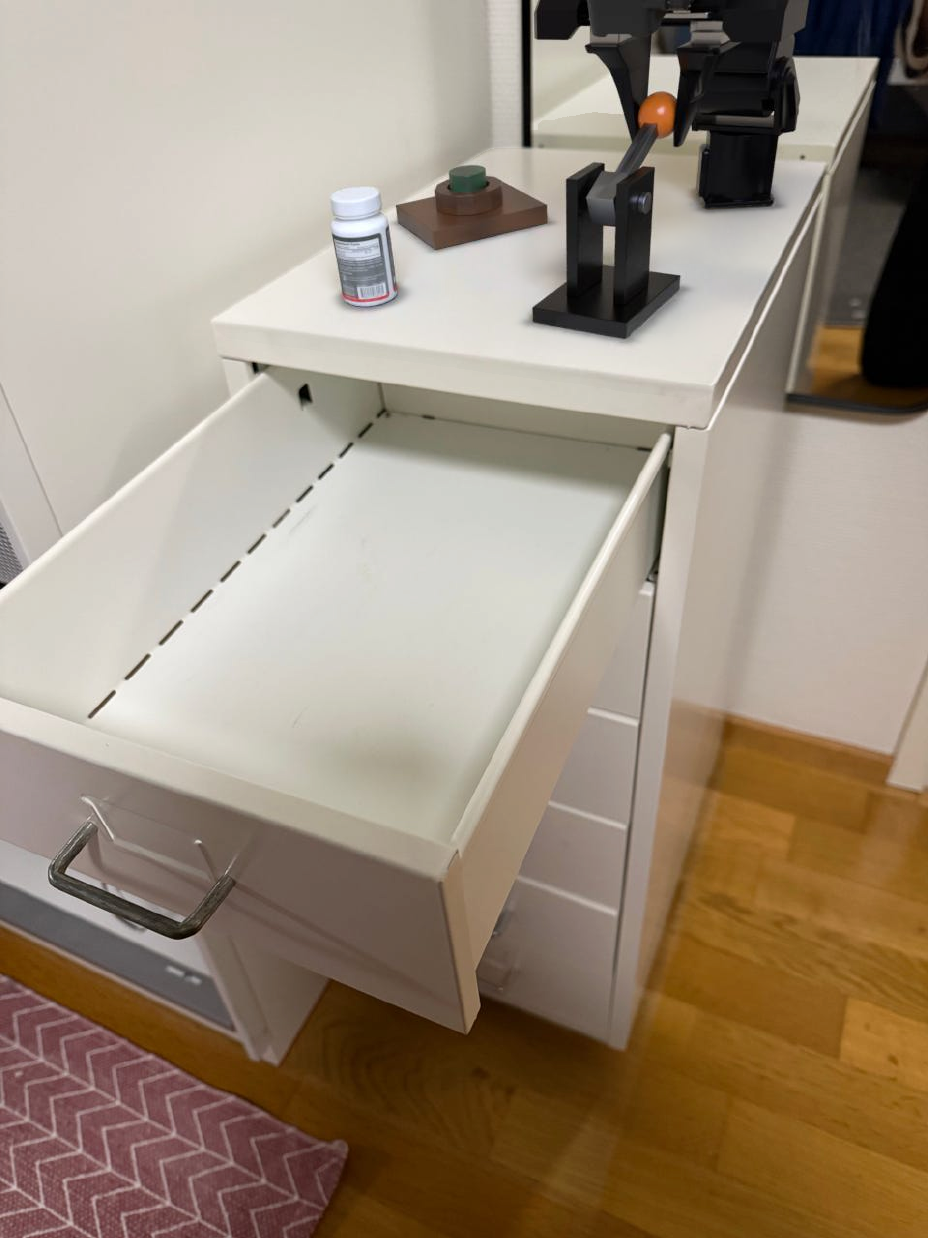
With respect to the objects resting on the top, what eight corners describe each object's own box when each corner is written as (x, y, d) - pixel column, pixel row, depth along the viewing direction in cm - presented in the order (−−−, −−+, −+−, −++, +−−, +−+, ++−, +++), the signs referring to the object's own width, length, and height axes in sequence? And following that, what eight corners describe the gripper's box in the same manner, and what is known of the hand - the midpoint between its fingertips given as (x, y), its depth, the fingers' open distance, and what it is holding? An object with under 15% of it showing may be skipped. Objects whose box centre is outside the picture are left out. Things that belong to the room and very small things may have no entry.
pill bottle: (364, 283, 78) (348, 181, 72) (408, 289, 76) (395, 186, 70) (332, 303, 75) (313, 199, 69) (377, 311, 73) (361, 204, 67)
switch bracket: (590, 276, 75) (592, 150, 68) (679, 289, 71) (690, 157, 65) (532, 322, 69) (527, 188, 62) (625, 339, 65) (631, 198, 59)
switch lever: (650, 119, 70) (645, 80, 67) (688, 121, 68) (685, 81, 65) (586, 228, 66) (578, 191, 64) (625, 232, 65) (618, 196, 62)
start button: (477, 181, 87) (476, 162, 86) (493, 189, 85) (492, 170, 84) (444, 188, 87) (442, 169, 85) (459, 197, 84) (457, 177, 83)
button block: (502, 197, 93) (500, 161, 91) (547, 222, 86) (547, 184, 83) (397, 222, 90) (393, 185, 87) (435, 249, 83) (431, 210, 80)
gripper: (488, -95, 57) (501, 164, 68) (771, -115, 49) (736, 185, 59) (569, -111, 64) (569, 127, 74) (830, -130, 56) (790, 141, 66)
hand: (657, 144), depth 68 cm, fingers closed on switch lever, 3 cm apart
